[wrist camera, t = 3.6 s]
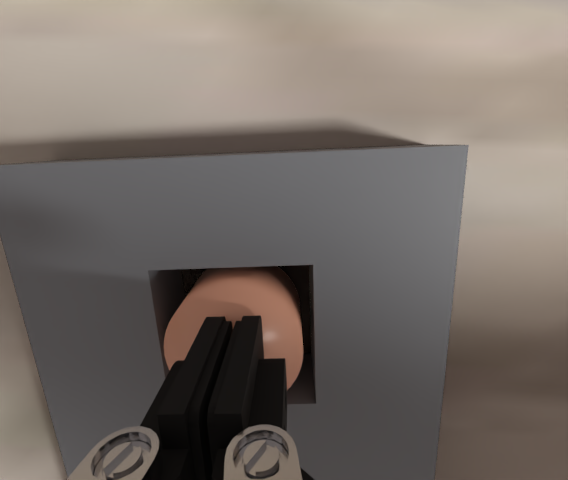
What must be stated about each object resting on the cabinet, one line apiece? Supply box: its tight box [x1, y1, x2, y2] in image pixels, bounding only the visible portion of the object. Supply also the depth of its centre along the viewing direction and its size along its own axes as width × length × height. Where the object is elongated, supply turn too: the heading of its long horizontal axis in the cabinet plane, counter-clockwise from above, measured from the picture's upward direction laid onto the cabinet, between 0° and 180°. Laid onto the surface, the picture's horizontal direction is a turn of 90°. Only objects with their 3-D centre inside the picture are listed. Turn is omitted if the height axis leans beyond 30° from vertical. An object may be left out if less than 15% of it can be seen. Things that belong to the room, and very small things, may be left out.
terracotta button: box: [164, 266, 303, 390], centre depth 12 cm, size 4×4×3 cm
